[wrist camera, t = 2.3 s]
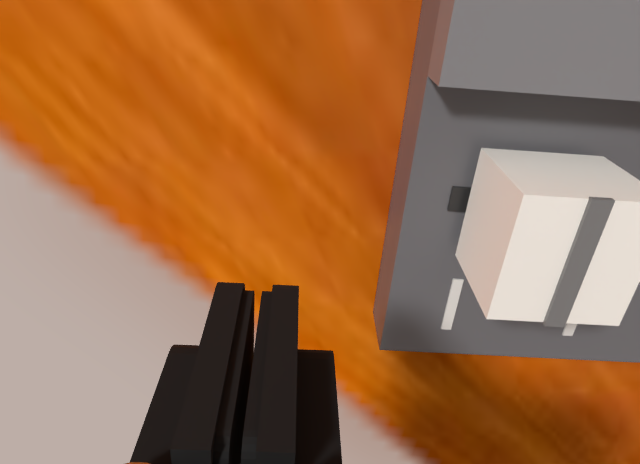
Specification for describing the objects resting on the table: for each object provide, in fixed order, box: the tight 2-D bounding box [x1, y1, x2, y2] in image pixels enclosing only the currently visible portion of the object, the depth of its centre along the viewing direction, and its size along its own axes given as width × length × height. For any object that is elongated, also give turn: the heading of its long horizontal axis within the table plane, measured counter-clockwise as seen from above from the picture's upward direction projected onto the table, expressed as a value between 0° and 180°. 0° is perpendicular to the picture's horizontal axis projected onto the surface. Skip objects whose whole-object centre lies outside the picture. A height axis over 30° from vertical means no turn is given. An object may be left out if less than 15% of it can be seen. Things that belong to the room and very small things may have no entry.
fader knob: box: [455, 148, 640, 327], centre depth 15 cm, size 4×4×4 cm
